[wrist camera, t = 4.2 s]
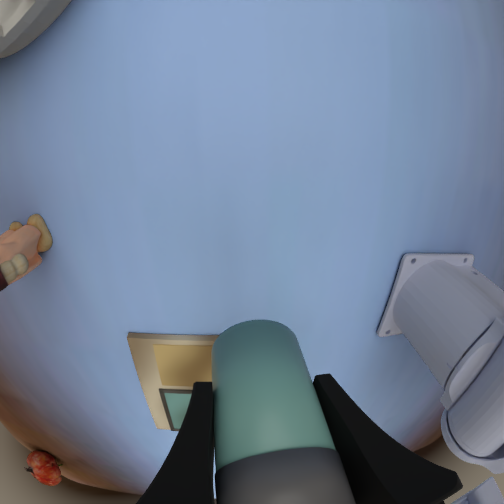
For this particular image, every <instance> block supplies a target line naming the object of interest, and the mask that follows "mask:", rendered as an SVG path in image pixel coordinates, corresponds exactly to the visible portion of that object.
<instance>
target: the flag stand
mask: <svg viewBox="0 0 504 504" xmlns="http://www.w3.org/2000/svg"><path fill="white" fill-rule="evenodd" d="M70 2H71V0H0V58H5V57H7V56H10V55H12V54H14V53H16V52H18V51H19V50H21V49H23V48H24V47H26V46H27V45H28V44H30V43H31V42H32V41H33V40H35V39H36V38H37V37H38V36H39V35H40V34H42V33H43V32H44V31H45V30H46V29H47V28H48V27H49V26H50V25H51V24H52V23H53V22H54V21H55V20H56V18H57V17H58V16H59V15H60V14H61V13H62V12H63V10H64V9H65V8H66V7H67V5H68V4H69V3H70Z"/></svg>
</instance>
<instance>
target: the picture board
mask: <svg viewBox="0 0 504 504" xmlns="http://www.w3.org/2000/svg"><path fill="white" fill-rule="evenodd" d="M218 337H219V335H167V334H145V333H128V336H127V340H128V343H129V347H130V351H131V354H132V358H133V361H134V364H135V368H136V371H137V374H138V377H139V380H140V383H141V386H142V389H143V392H144V395H145V398H146V401H147V404H148V406H149V409H150V412H151V414H152V417H153V419H154V422H155V425H156V427H157V429H169V430H171V431H179V430H180V428H181V425H182V422H183V420H184V417H185V414H186V412H187V408H188V405H189V402H190V398H191V394H192V390H193V383H195V382H212V360H211V353H212V347H213V344H214V342H215V340H216V339H217V338H218Z"/></svg>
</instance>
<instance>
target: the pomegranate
mask: <svg viewBox="0 0 504 504" xmlns="http://www.w3.org/2000/svg"><path fill="white" fill-rule="evenodd" d="M27 463H28V465H29V468H28V469H27V468H25V467H24V468H25V470H26V471H29V472H31V474H32V475H33V476H34V477H35V478H37V480H38V481H40V482H41V483H42V484H45V485H49V486H52V485H57V484H58V483H59V482H60V481H61V476H60V475H61V471H60V469H59V467H58V466H61V465H63V464H61V465H57V463H56V461H55V458H54V457H53V456H52V455H50V454H49V453H47V452H40V451H33V452H31V453H30V454H29V455H28V457H27Z"/></svg>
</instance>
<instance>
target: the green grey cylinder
mask: <svg viewBox="0 0 504 504" xmlns="http://www.w3.org/2000/svg"><path fill="white" fill-rule="evenodd" d="M211 360H212V386H213V411H214V414H213V427H214V448H215V465H216V473H215V488H216V501H217V504H356V503H355V500H354V497H353V494H352V491H351V488H350V485H349V482H348V479H347V476H346V473H345V470H344V467H343V464H342V461H341V458H340V456H339V453H338V452H337V451H336V449H335V446H334V443H333V440H332V437H331V434H330V431H329V428H328V425H327V423H326V420H325V417H324V414H323V411H322V408H321V405H320V402H319V400H318V397H317V394H316V391H315V388H314V385H313V383H312V380H311V377H310V374H309V371H308V368H307V366H306V363H305V360H304V357H303V354H302V352H301V349H300V346H299V343H298V340H297V338H296V336H295V334H294V333H293V332H292V331H291V330H290V329H289V328H288V327H287V326H285V325H283V324H281V323H278V322H275V321H270V320H251V321H245V322H242V323H239V324H236V325H234V326H232V327H230V328H228V329H227V330H225V331H224V332H223V333H221V334H220V335H219V337H218V338H217V339H216V340H215V342H214V344H213V347H212V353H211Z"/></svg>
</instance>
